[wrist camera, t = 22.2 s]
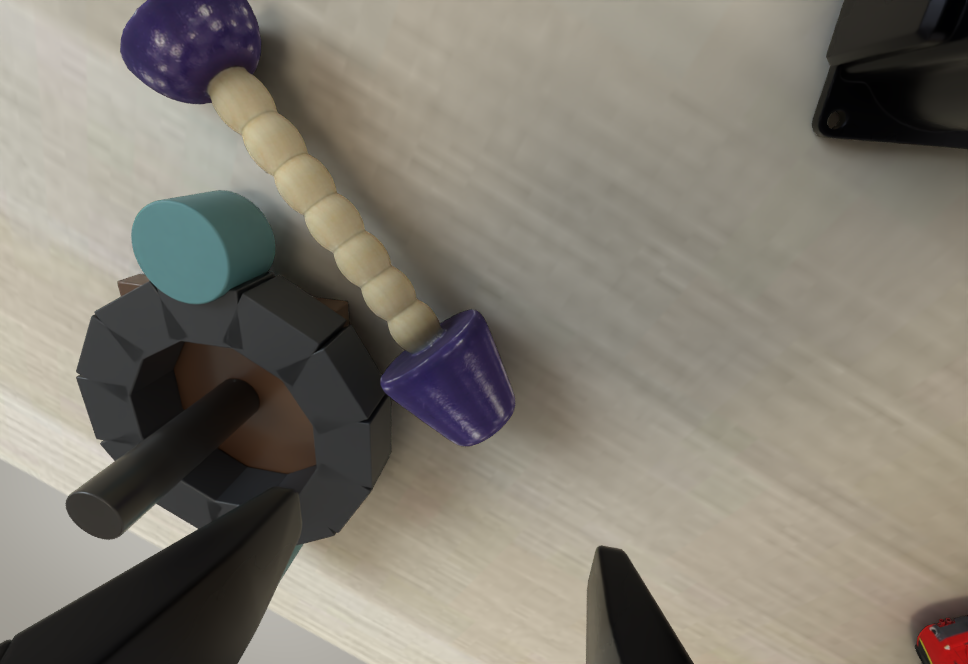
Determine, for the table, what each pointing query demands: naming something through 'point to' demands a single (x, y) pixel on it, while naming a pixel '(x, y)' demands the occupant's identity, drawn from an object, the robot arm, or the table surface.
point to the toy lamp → (323, 211)
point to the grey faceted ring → (253, 333)
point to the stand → (201, 433)
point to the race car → (944, 642)
